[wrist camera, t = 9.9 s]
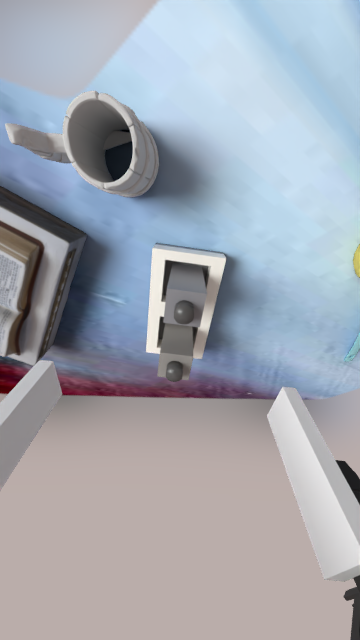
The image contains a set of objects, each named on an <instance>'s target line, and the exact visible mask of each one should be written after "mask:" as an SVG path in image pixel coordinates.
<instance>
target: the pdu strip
mask: <svg viewBox="0 0 360 640" xmlns="http://www.w3.org/2000/svg"><path fill="white" fill-rule="evenodd" d="M173 263H177V264H184V265H191V266H199V267H202V270H203V276H204V281H205V286H206V291H207V296H206V301H205V306H204V310H203V315H202V320H201V324H200V327H192V330H193V358H197V359H202V356H203V352H204V348H205V344H206V340H207V336H208V332H209V328H210V323H211V319H212V315H213V311H214V307H215V303H216V299H217V295H218V291H219V287H220V283H221V279H222V275H223V271H224V267H225V263H226V257H225V255H224V254H223V253H222V252H215V251H208V250H202V249H195V248H188V247H181V246H174V245H167V244H160V243H156V244H155V245H154V247H153V249H152V265H151V281H150V298H149V314H148V330H147V347H146V352H149V353H157V354H160V350H161V344H162V339H163V333H164V327H165V323H163V320H164V311H165V301H166V292H167V286H168V281H169V277H170V273H171V268H172V264H173Z"/></svg>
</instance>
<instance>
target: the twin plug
mask: <svg viewBox="0 0 360 640" xmlns="http://www.w3.org/2000/svg"><path fill="white" fill-rule="evenodd" d="M192 361H193V330H192V326H185V325H177V324H169V323H165V327H164V333H163V339H162V344H161V350H160V357H159V366H158V377H166V378H167V379H168V380H170V381H173V382H176V381H179V380H181V379H183V380H188V379H189V374H190V370H191V365H192Z"/></svg>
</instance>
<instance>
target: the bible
mask: <svg viewBox="0 0 360 640" xmlns="http://www.w3.org/2000/svg"><path fill="white" fill-rule="evenodd" d="M86 238H87V234H86V233H84V232H83V231H81V230H79V229H77V228H75V227H73V226H72V225H70V224H68V223H66V222H64V221H62V220H61V219H59V218H57V217H55V216H53V215H51V214H50V213H48V212H46V211H45V210H43V209H41V208H39V207H38V206H36V205H34V204H32V203H30V202H28V201H26V200H24V199H23V198H21V197H19V196H18V195H16V194H14V193H12V192H10V191H9V190H7V189H5V188H3V187H1V186H0V355H1V356H3V357H5V356H9V357H11V358H13V359H16V360H19V361H22V362H25V363H28V364H30V365H32V366H34V365H35V364H36V363H37V362H38V361H39V360H40V359H41V358H42V357H43V356H44V354H45V353H46V352H47V351H48V349H49V348H50V347H51V346H52V345H53V343H54V339H55V336H56V334H57V330H58V326H59V324H60V320H61V318H62V312H63V309H64V307H65V304H66V301H67V298H68V293H69V291H70V285H71V282H72V279H73V278H74V274H75V271H76V269H77V266H78V262H79V259H80V256H81V253H82V249H83V246H84V243H85V240H86Z"/></svg>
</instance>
